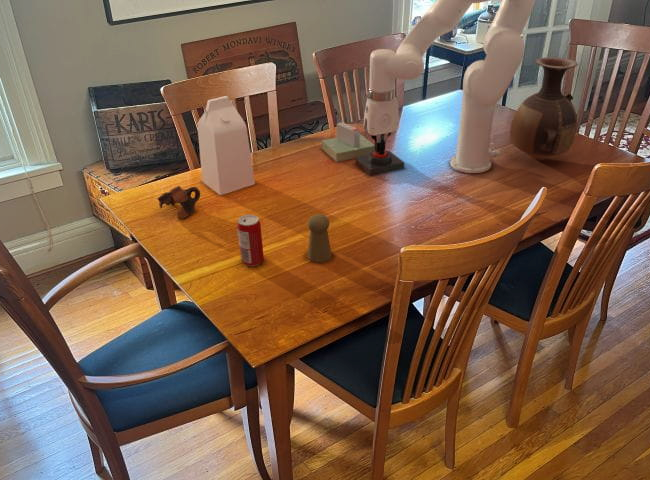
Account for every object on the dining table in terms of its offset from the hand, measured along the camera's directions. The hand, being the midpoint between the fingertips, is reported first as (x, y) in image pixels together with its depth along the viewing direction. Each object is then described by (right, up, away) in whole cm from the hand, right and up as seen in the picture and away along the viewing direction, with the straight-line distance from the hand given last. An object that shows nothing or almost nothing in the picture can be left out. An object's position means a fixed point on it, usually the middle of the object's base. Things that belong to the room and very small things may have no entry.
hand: (379, 152), depth 193 cm
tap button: (0, -1, +1) cm, 2 cm away
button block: (0, -4, +3) cm, 5 cm away
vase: (+51, -1, +5) cm, 51 cm away
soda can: (-35, -37, -39) cm, 64 cm away
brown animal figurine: (-58, -21, -17) cm, 64 cm away
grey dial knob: (-9, +6, +11) cm, 15 cm away
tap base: (-9, +3, +13) cm, 16 cm away
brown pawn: (-19, -35, -38) cm, 55 cm away
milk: (-47, -10, -4) cm, 48 cm away
